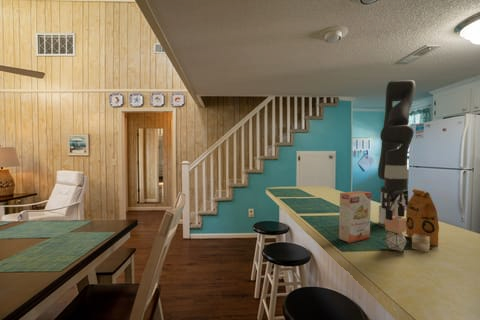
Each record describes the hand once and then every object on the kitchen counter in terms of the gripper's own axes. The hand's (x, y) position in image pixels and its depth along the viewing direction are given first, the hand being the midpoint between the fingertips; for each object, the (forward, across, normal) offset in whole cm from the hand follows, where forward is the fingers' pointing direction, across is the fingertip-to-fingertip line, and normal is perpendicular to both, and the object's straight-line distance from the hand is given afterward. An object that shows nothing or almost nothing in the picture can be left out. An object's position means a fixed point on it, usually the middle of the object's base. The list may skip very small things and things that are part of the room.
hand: (395, 217), depth 93 cm
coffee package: (+13, -21, 0) cm, 25 cm away
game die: (+13, 0, 0) cm, 13 cm away
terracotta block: (+5, 0, 0) cm, 5 cm away
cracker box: (+13, +2, -16) cm, 21 cm away
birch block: (+13, -11, +4) cm, 17 cm away
